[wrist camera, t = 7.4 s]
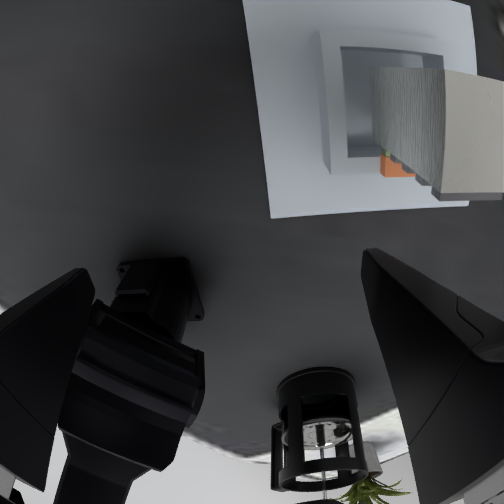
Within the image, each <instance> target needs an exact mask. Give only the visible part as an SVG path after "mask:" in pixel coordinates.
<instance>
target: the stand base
mask: <svg viewBox="0 0 504 504" xmlns="http://www.w3.org/2000/svg"><path fill="white" fill-rule="evenodd" d="M243 6H244V13H245V20H246V26H247V33H248V40H249V47H250V54H251V61H252V68H253V76H254V83H255V90H256V98H257V106H258V113H259V121H260V129H261V137H262V145H263V153H264V162H265V170H266V179H267V187H268V196H269V205H270V214H271V219H273V218H284V217H296V216H308V215H320V214H334V213H347V212H362V211H377V210H393V209H411V208H430V207H452V206H468V204H469V201H441V202H439V201H438V200H437V199H436V198H435V197H434V196H433V195H432V194H431V190H432V186H422V185H420V184H419V183H418V182H417V181H416V180H415V175H416V173H413V174H408V173H406V172H405V171H404V170H403V169H402V163H394V162H393V161H392V160H390V156H385V155H384V154H383V153H382V147H381V146H380V145H378V144H377V143H375V142H374V141H373V136H372V105H371V87H370V74H369V67H411V68H432V69H445V70H451V71H457V72H462V73H467V74H472V75H477V66H476V52H475V41H474V32H473V24H472V17H471V11H470V6H468V5H464V4H461V3H458V2H454V1H450V0H243Z"/></svg>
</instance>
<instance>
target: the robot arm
mask: <svg viewBox="0 0 504 504" xmlns="http://www.w3.org/2000/svg"><path fill="white" fill-rule="evenodd" d="M180 263H183V264H185V265H184V266H183V265H181V264H180ZM122 268H123V269H124V270H123V269H122ZM117 271H118V274H119V276H120V279H121V283H120V284H119V286H118V288H117V289H116V291H115V295H116V297H115V299H114V300H113V302H112V304H111V306H110V307H109V306H107V305H105V304H103V303H104V302H102V301H100V300H99V299H97V300H96V301H95V302H94V304H93V305H92V303H93V299H94V295H95V288H94V285H93V283H92V281H91V278H90V276H89V273H88V271H87V270H86V269H85V268H76V269H73V270H72V271H70V272H68V273H66V274H65V275H63V276H61V277H60V278H58V279H56V280H54V281H53V282H51V283H49V284H48V285H46V286H44V287H43V288H41V289H40V290H38V291H36V292H35V293H33V294H31V295H30V296H28V297H27V298H25V299H23V300H22V301H20V302H19V303H17V304H15V305H14V306H12V307H11V308H9V309H8V310H6V311H5V312H3V313H2V314H1V315H0V504H24V501H23V499H22V496H21V493H20V492H19V491H17V490H16V489H14V488H13V485H14V482H15V479H17V480H19V481H21V482H23V483H25V484H27V485H29V486H31V487H33V488H35V489H37V490H39V491H42V492H44V490H45V486H46V478H47V473H48V467H49V461H50V456H51V451H52V446H53V442H54V436H55V432H56V427H57V423H58V428H59V430H61V431H62V432H63V437H64V440H65V445H66V448H67V452H68V456H67V459H66V462H65V465H64V468H63V472H62V475H61V478H60V481H59V485H58V488H57V492H56V495H55V499H54V503H53V504H125V501H126V498H127V495H128V493H129V490H130V487H131V485H132V482H133V481H134V480H135V479H137V478H139V477H140V476H142V475H143V474H145V473H146V472H148V471H149V470H151V469H153V470H156V471H159V472H161V471H163V470H164V469H165V468H166V467H167V466H168V465H170V464H171V462H173V460H174V457H175V454H176V451H177V448H178V444H179V441H180V438H181V435H182V433H183V430H184V429H187V428H189V427H190V426H191V425H192V423H193V422H194V420H195V419H196V417H197V415H198V413H199V411H200V408H201V405H202V402H203V399H204V394H205V368H204V352H202V351H200V350H198V349H197V350H195V349H192V348H190V347H188V346H186V345H184V344H182V343H181V341H182V337H183V334H184V330H185V326H186V323H187V321H200V320H203V318H204V312H203V308H202V305H201V302H200V298H199V295H198V292H197V288H196V285H195V281H194V278H193V274H192V271H191V267H190V264H189V261H188V260H187V259H186V258H172V259H148V260H136V261H133V262H125V263H120V264H119V265H118V267H117ZM361 279H362V284H363V288H364V292H365V296H366V301H367V305H368V310H369V314H370V319H371V322H372V325H373V328H374V331H375V334H376V337H377V340H378V343H379V346H380V349H381V352H382V355H383V359H384V362H385V365H386V368H387V371H388V375H389V378H390V381H391V385H392V388H393V391H394V395H395V398H396V402H397V406H398V409H399V413H400V417H401V420H402V424H403V428H404V432H405V436H406V440H407V444H408V446H409V447H408V449H409V453H410V458H411V462H412V467H413V471H414V476H415V481H416V486H417V491H418V496H419V502H420V504H450V503H452V502H454V501H457V500H460V499H462V498H463V499H464V503H465V504H504V322H503V321H501V320H500V319H498V318H496V317H494V316H492V315H491V314H489V313H487V312H485V311H483V310H482V309H480V308H478V307H477V306H475V305H473V304H472V303H470V302H468V301H467V300H465V299H464V298H462V297H460V296H457V294H456V293H454V292H452V291H451V290H449V289H447V288H446V287H444V286H442V285H441V284H439V283H438V282H436V281H434V280H433V279H431V278H429V277H427V276H426V275H424V274H422V273H421V272H419V271H417V270H416V269H414V268H412V267H410V266H409V265H407V264H405V263H403V262H402V261H400V260H398V259H396V258H395V257H393V256H391V255H389V254H388V253H386V252H384V251H382V250H380V249H379V248H366V249H364V251H363V257H362V267H361ZM198 315H200V316H198Z"/></svg>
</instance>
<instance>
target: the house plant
mask: <svg viewBox="0 0 504 504" xmlns="http://www.w3.org/2000/svg"><path fill="white" fill-rule="evenodd" d="M363 447H364V454H365V460H366V461H367V465H368V476H367V477H366V478H365V479H363V480H362V481H360V482H357V483H355V484H353V485H352V487H351V489H350V490H349V491H348V492H347V493H346V494H345V495H343V497H341V498H344V497H347V496H349V497H348V498H347V499H346V500H345V501H350V502H351V503H349V504H357V501H359V503H361V502H365V503H366V504H373V503H372V502H371V499H370V497H371V498H372V499H373V500H374V501H376V502H377V503H378V504H382V503H384V504H389V503H387V502H385V501H383V500H382V499H381V498H379V497H378V494H380V495H386V496H399V495H405V494H409V493H410V492H398V491H392V490H396V489H392V488H390V487H393V486H396V485H397V484H399V483H400V481H401V480H400V481H399V482H398V483H396V484H394V485H392V486H387V485H385V484H383V485H384V486H381V485H379V484H377V483H376V482H375V481H377V480H375V479H374V478H376V477H378V476H380V475H381V474H382V473H383V471H382V468H381V465H380V463H379V460H378V457H377V454H376V452H375V449H374V446H373V444H372V443H370V442H363ZM349 453H350V457H355V451H354V445H351V446H349ZM357 471H359V470H352V474H353V473H355V472H357ZM371 479H372V480H373V481H374V482H375V483H374V482H373V481H372V480H371ZM377 482H378V483H380V484H382V483H381V482H379V481H377ZM381 487H384V488H390V489H392V490H386V489H383V488H381ZM369 496H370V497H369ZM358 497H359V498H358ZM341 498H338V499H341ZM376 498H377V499H378V500H379V501H381V502H382V503H380V502H379V501H377V500H376ZM333 500H337V499H333ZM341 501H342V500H341ZM342 502H344V501H342Z"/></svg>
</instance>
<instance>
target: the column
mask: <svg viewBox="0 0 504 504" xmlns="http://www.w3.org/2000/svg"><path fill="white" fill-rule="evenodd" d="M369 74H370V87H371V105H372V136H373V141H374V142H375V143H377V144H378V145H380V146H381V147H382V153H383V154H384V155H385V156H390V160H392V161H393V162H394V163H402V169H403V170H404V171H405V172H406V173H408V174H413V173H416V175H415V180H416V181H417V182H418V183H419V184H420V185H422V186H432V190H431V194H432V195H433V196H434V197H435V198H436V199H437V200H438V201H439V202H441V201H472V200H501V199H502V193H503V192H504V82H502V81H499V80H495V79H490V78H486V77H482V76H477V75H472V74H467V73H462V72H457V71H451V70H445V69H432V68H411V67H369Z"/></svg>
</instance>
